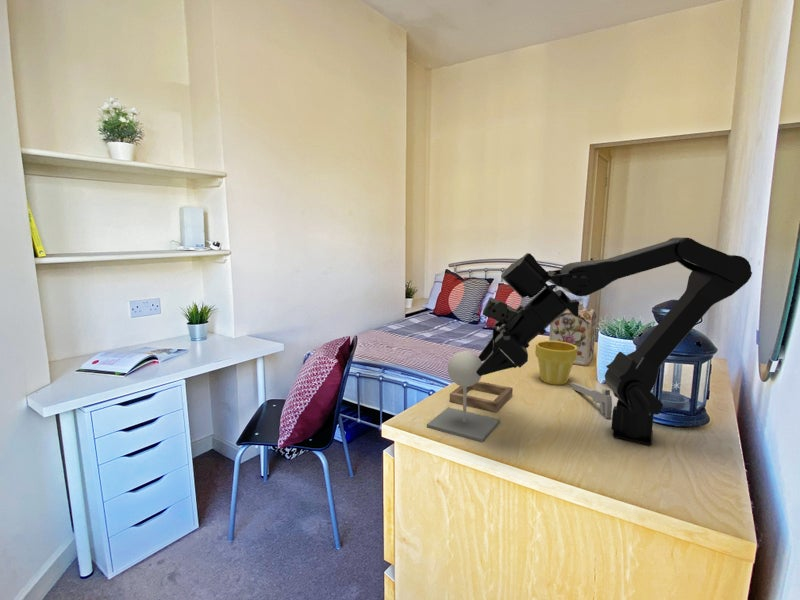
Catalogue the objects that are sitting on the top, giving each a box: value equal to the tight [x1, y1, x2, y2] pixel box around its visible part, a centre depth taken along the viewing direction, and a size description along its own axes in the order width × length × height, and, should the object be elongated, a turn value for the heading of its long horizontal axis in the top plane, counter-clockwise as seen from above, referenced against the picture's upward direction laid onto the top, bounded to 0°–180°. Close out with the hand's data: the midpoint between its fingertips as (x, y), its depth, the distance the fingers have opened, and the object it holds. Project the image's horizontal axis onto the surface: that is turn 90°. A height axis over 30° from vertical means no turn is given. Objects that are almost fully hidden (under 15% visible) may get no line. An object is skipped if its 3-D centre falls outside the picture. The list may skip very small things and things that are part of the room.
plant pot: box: [535, 340, 577, 386], centre depth 112 cm, size 10×10×10 cm
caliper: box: [568, 382, 613, 419], centre depth 99 cm, size 20×1×6 cm, turn 0°
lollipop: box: [447, 350, 483, 422], centre depth 86 cm, size 7×7×15 cm
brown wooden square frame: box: [449, 380, 514, 413], centre depth 101 cm, size 11×11×2 cm
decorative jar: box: [548, 301, 597, 367], centre depth 131 cm, size 12×12×18 cm
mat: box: [426, 407, 501, 443], centre depth 87 cm, size 12×10×1 cm
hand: (478, 366), depth 85 cm, fingers open, 9 cm apart
